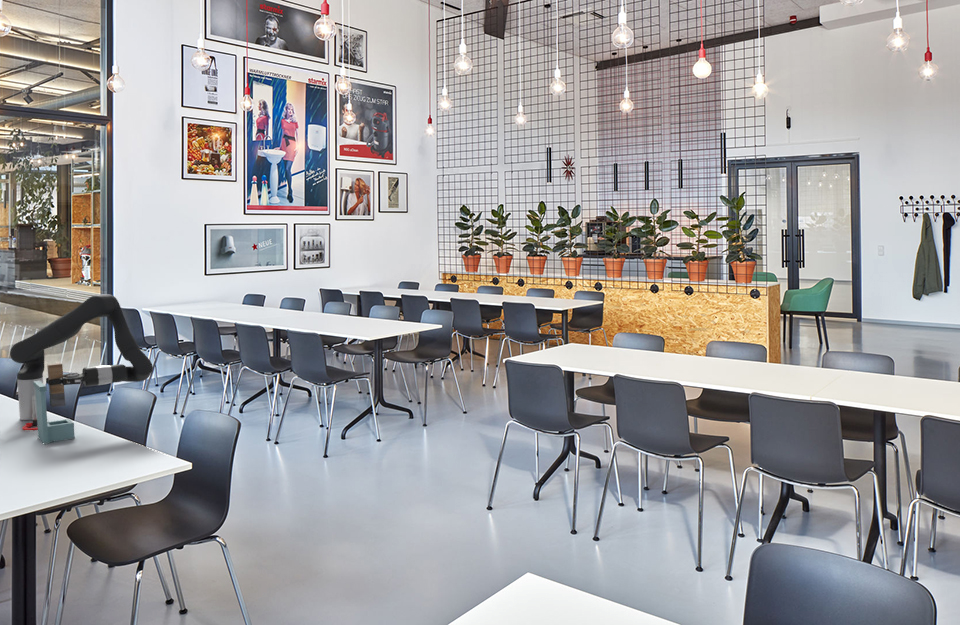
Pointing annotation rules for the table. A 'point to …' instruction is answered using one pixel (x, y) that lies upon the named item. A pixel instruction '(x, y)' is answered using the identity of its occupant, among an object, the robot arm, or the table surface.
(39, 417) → the teal holder stand
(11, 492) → the table surface
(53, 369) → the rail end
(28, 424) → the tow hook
